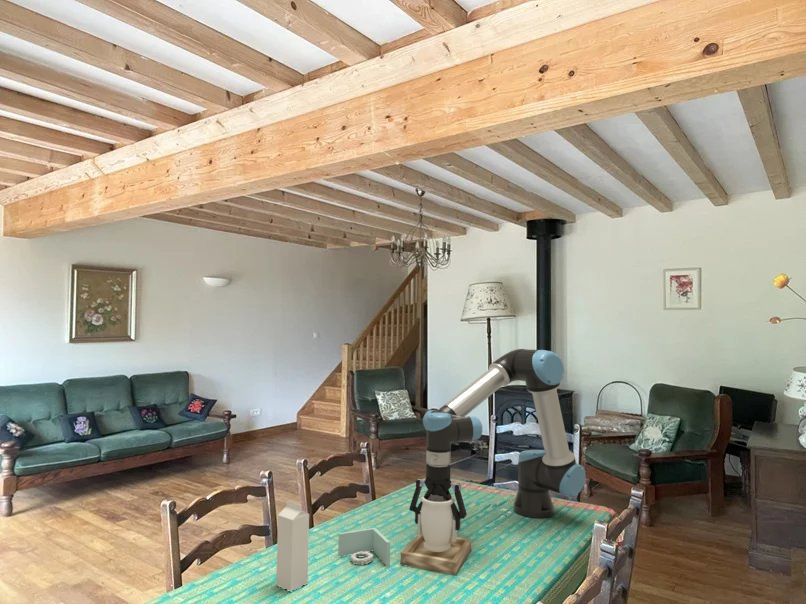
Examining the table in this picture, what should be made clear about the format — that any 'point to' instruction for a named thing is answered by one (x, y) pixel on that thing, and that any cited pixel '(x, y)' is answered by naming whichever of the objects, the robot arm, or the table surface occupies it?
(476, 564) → the table surface
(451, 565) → the wooden tray
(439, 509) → the jar
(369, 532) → the l-shaped corner panel
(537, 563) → the table surface
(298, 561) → the milk
